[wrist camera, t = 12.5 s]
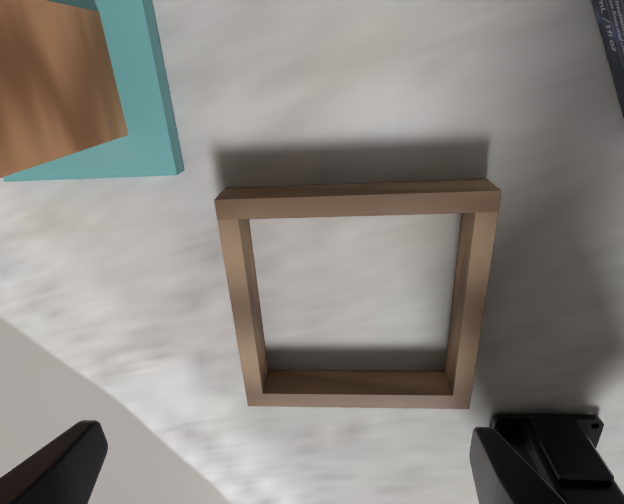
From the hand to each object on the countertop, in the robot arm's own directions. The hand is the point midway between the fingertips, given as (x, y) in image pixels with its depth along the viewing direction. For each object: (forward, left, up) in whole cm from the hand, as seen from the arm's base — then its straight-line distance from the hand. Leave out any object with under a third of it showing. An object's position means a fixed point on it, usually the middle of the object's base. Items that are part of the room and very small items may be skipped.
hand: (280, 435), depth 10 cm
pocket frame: (-4, -2, -13) cm, 14 cm away
